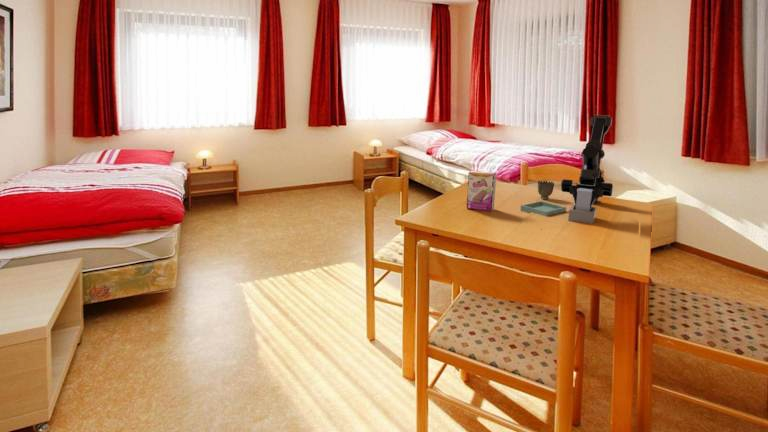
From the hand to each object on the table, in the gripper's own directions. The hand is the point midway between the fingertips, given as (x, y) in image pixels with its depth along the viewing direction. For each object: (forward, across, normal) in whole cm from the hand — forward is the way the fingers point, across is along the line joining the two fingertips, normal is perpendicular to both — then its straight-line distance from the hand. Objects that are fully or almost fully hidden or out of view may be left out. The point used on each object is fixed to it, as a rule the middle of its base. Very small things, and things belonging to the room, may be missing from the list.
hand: (583, 205), depth 182 cm
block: (+3, 0, +5) cm, 6 cm away
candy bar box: (+5, -41, +5) cm, 42 cm away
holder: (+4, 0, +6) cm, 7 cm away
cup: (-18, -20, +27) cm, 38 cm away
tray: (-1, -16, +10) cm, 19 cm away
